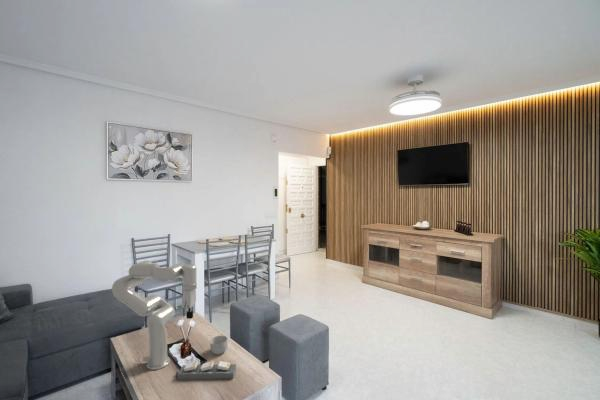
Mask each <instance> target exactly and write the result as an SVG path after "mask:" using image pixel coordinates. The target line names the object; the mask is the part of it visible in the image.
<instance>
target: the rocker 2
mask: <svg viewBox="0 0 600 400" xmlns="http://www.w3.org/2000/svg"><path fill="white" fill-rule="evenodd" d="M201 365H202V367H201V371H205V370H208V369H212V367H213V365H215V363H214V360H211V361H208V362H205V363H203V364H201Z"/></svg>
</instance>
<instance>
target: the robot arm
mask: <svg viewBox="0 0 600 400" xmlns="http://www.w3.org/2000/svg"><path fill="white" fill-rule="evenodd" d="M181 277H182V280H181V281H182V296H181V298H182V299H181V308H182V309H184V310H185V313H186V319H188V320H189V319H193V318H194V305H195V304H196V301H197V294H196V293H197V291H196V290H197V266H196V264H191V263H190V264H186V263H183V262H178V263H176V264H174V265H171V266H169V267H160V265H159V264H158V263H154V262H151V261H150V260H143V261H140V262H136V263H135V264H132V265H131V266H130V267H129V269H128V275H124V276H122V277H120V278H118V279H116V280H115V281H114V282H113V284H112V286H111V291H112V292H111V293H112V295H113V297H115V299H116V300H118V301H119V302H121V303H123V304H124V305H126V306H127V307H128V308H129V309H131V310H132V311H133V312H134V313H136V314H137V315H138V316H140V317H146V316H148V317H147V319H146V326H147V329H148V349H149V350H148V351H149V352H148V353H149V354H148V355H144V356H143V357H142V362H146V363H145V364H146V368H147V370H151V371H152V370H153V371H155V370H160V369H162V368H165V367H167V366H168V365H169V364H170V362H171V357H169V356H168V331H167V328H166V327H165V325H166V324H167V323H168V322H169V321H170V320H172V319H173V318H174V317H175V314H176V310H175V308H174V306H173V305H172V304H170V303H169V302H168V301H166V300H165V299H164V298H162V297H161V296H160V295H157V294H151V295H148V296H146V297H145V296H143V295H141V294H140V293H138V292H137V291H133V290H131V289H134V288H135V287H138V286H140V285H141V284H142V283H143V282H144V281H145V280H146V279H154V280H155V281H157V282H171V281H174V280H176V279H179V278H181ZM149 314H150V315H149Z"/></svg>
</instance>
